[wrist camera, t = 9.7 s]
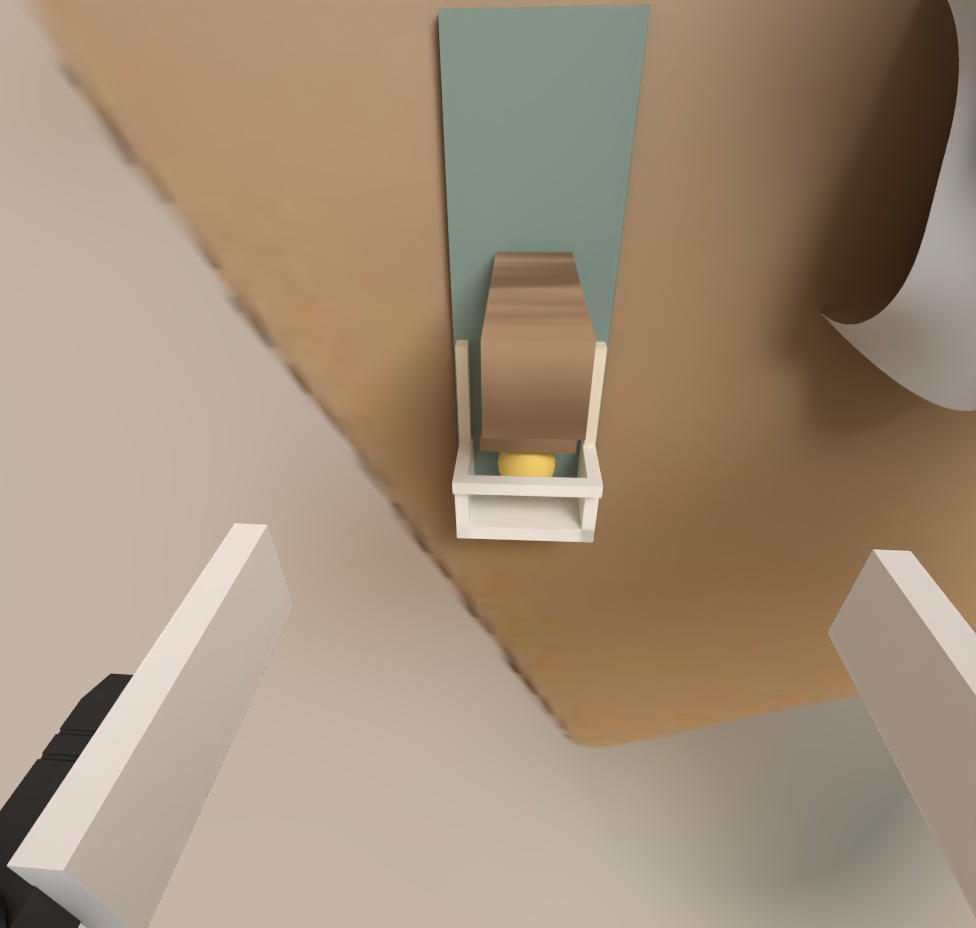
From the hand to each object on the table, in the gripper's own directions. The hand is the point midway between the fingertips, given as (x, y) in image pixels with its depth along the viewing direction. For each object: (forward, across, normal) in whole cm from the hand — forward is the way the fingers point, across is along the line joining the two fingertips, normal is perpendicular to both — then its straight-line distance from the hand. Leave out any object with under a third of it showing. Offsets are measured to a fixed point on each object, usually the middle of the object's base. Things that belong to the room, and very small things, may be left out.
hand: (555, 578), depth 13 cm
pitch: (+22, -1, -2) cm, 22 cm away
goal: (+22, -1, -12) cm, 25 cm away
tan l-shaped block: (+22, -1, 0) cm, 22 cm away
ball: (+20, -1, -11) cm, 22 cm away
